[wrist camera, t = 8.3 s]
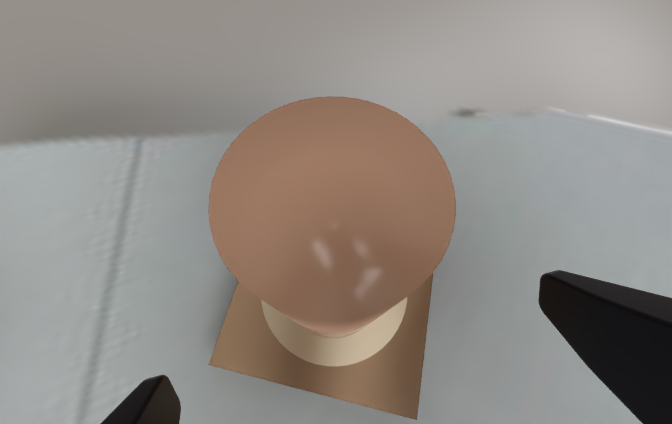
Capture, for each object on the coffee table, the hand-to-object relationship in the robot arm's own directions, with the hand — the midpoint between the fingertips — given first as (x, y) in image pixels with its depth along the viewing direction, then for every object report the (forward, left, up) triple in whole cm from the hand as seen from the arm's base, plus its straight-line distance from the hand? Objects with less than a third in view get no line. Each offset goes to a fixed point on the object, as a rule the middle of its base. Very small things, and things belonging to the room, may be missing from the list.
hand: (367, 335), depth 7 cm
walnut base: (+1, -3, -12) cm, 13 cm away
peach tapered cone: (+1, -3, -10) cm, 11 cm away
